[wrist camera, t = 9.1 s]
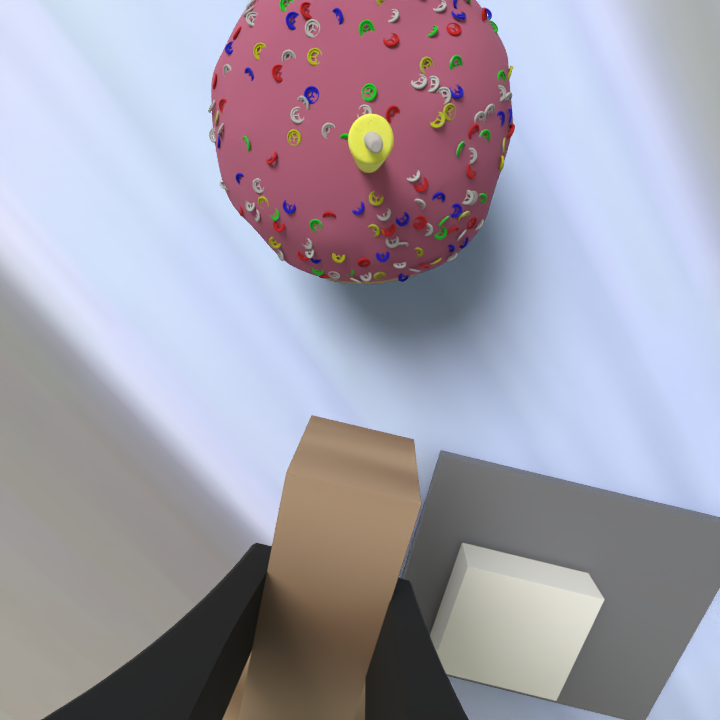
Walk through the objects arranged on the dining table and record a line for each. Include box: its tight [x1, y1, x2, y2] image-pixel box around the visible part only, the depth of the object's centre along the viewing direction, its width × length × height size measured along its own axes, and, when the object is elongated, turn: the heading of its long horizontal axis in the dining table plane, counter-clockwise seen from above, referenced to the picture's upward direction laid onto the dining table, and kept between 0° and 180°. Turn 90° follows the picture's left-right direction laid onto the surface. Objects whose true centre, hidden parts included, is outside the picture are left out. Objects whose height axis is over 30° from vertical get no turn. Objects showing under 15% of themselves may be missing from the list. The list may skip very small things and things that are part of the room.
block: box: [430, 543, 605, 701], centre depth 19 cm, size 6×2×6 cm
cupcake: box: [208, 0, 515, 284], centre depth 10 cm, size 9×8×12 cm
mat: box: [401, 451, 720, 720], centre depth 20 cm, size 14×12×1 cm
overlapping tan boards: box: [222, 416, 421, 720], centre depth 12 cm, size 14×5×3 cm, turn 167°
